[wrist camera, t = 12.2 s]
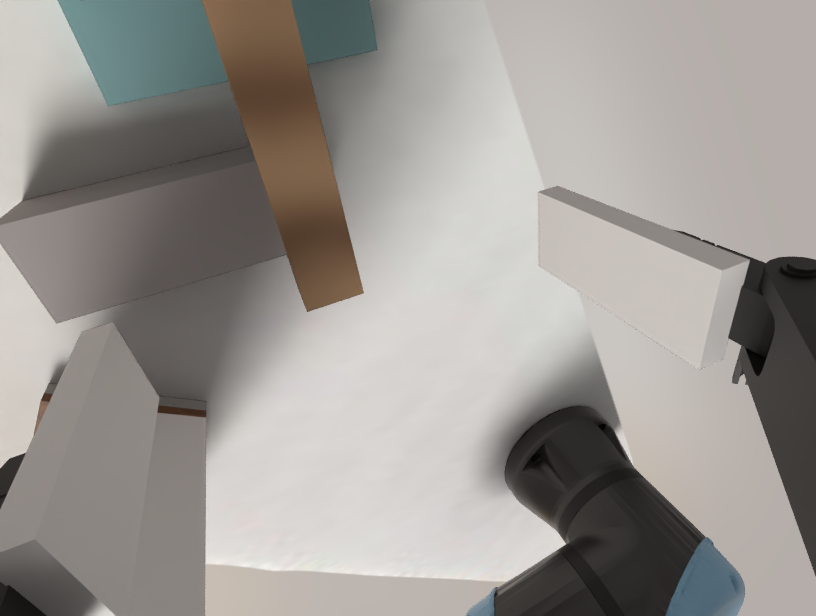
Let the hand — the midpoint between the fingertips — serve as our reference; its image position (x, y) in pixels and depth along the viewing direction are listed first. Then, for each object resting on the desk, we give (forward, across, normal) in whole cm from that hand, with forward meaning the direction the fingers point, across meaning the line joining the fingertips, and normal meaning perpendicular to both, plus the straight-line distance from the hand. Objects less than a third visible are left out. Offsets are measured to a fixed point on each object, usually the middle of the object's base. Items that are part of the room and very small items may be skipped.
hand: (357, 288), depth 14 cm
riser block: (+21, -7, -2) cm, 22 cm away
